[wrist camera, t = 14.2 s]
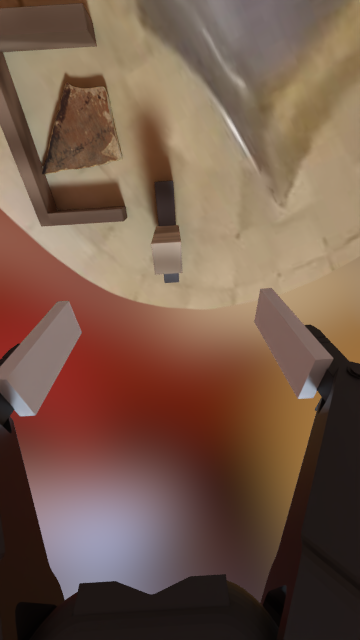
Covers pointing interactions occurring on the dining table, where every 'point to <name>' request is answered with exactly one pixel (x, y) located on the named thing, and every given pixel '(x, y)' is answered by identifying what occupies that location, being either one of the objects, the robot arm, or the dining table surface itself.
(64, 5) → the walnut bay
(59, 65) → the dining table surface
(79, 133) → the shard
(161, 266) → the scraper
